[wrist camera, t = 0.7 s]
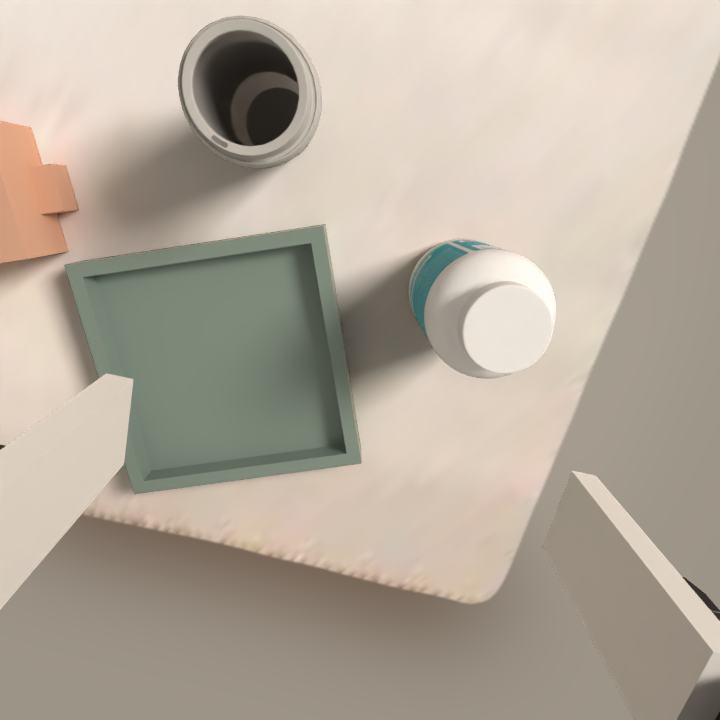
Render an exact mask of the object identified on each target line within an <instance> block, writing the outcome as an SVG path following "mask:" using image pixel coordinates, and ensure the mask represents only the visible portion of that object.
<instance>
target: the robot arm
mask: <svg viewBox="0 0 720 720" xmlns="http://www.w3.org/2000/svg"><path fill="white" fill-rule="evenodd" d="M132 388H133V379H131V378H126V377H121V376H116V375H112V374H107V373H106V374H105V375H103V376H102V377H100V378H99V379H98V380H96V381H95V382H94V383H92V384H91V385H89V386H88V387H87V388H85V389H84V390H82V391H81V392H80V393H78V394H77V395H76V396H74V397H73V398H71V399H70V400H69V401H67V402H66V403H65V404H63V405H62V406H60V407H59V408H58V409H56V410H55V411H53V412H52V413H51V414H49V415H48V416H47V417H45V418H44V419H42V420H41V421H40V422H38V423H37V424H35V425H34V426H33V427H31V428H30V429H29V430H27V431H26V432H24V433H23V434H22V435H20V436H19V437H18V438H16V439H15V440H13V441H12V442H11V443H9V444H8V445H6V446H4V445H0V609H1V608H2V607H3V606H4V604H5V603H6V602H7V601H8V600H9V599H10V597H11V596H12V595H13V594H14V593H15V592H16V590H17V589H18V588H19V587H20V586H21V585H22V583H23V582H24V581H25V580H26V579H27V577H28V576H29V575H30V574H31V573H32V572H33V570H34V569H35V568H36V567H37V566H38V565H39V563H40V562H41V561H42V560H43V559H44V558H45V556H46V555H47V554H48V553H49V552H50V550H51V549H52V548H53V547H54V546H55V545H56V543H57V542H58V541H59V540H60V539H61V538H62V536H63V535H64V534H65V533H66V532H67V531H68V529H69V528H70V527H71V526H72V524H74V522H75V521H76V520H77V519H78V518H79V516H80V515H81V514H82V513H83V512H84V511H85V509H86V508H87V507H88V506H89V505H90V504H91V502H92V501H93V500H94V499H95V498H96V497H97V495H98V494H99V493H100V492H101V491H102V490H103V488H104V487H105V486H106V485H107V484H108V482H109V481H110V480H111V479H112V478H113V477H114V475H115V474H116V473H117V472H118V471H119V470H120V468H121V467H122V466H123V465H124V460H125V451H126V442H127V433H128V424H129V415H130V406H131V397H132ZM542 547H543V549H544V551H545V553H546V555H547V557H548V559H549V561H550V562H551V564H552V566H553V568H554V570H555V572H556V574H557V576H558V577H559V579H560V581H561V583H562V585H563V587H564V589H565V591H566V592H567V595H568V596H569V598H570V600H571V602H572V604H573V605H574V608H575V610H576V611H577V613H578V615H579V617H580V619H581V621H582V623H583V625H584V627H585V628H586V630H587V632H588V634H589V636H590V638H591V640H592V641H593V644H594V645H595V647H596V649H597V651H598V653H599V655H600V657H601V659H602V661H603V663H604V664H605V666H606V668H607V670H608V672H609V674H610V676H611V678H612V679H613V681H614V683H615V685H616V687H617V689H618V691H619V693H620V695H621V696H622V698H623V700H624V702H625V704H626V706H627V708H628V710H629V711H630V714H631V715H632V717H633V719H634V720H720V610H719V609H718V608H717V607H716V606H715V605H714V603H713V602H712V601H711V600H710V599H709V598H708V597H707V595H706V594H705V593H704V592H702V591H701V590H700V589H698V588H697V587H696V586H695V585H693V584H692V583H691V582H690V581H688V580H687V579H686V578H685V577H682V576H681V575H680V574H679V573H678V572H677V571H676V569H675V568H674V567H673V566H672V565H671V564H670V562H669V561H668V560H667V559H666V558H665V556H664V555H663V554H662V553H661V552H660V551H659V549H658V548H657V547H656V546H655V545H654V544H653V542H652V541H651V540H650V539H649V538H648V537H647V535H646V534H645V533H644V532H643V531H642V529H641V528H640V527H639V526H638V525H637V524H636V522H635V521H634V520H633V519H632V518H631V517H630V515H629V514H628V513H627V512H626V511H625V510H624V509H623V507H622V506H621V505H620V504H619V503H618V501H617V500H616V499H615V498H614V497H613V495H612V494H611V493H610V492H609V491H608V490H607V489H606V487H605V486H604V485H603V484H602V482H601V481H600V480H599V479H598V478H597V477H596V476H595V475H590V474H585V473H580V472H575V471H572V472H571V474H570V477H569V479H568V482H567V484H566V487H565V489H564V492H563V495H562V497H561V500H560V502H559V505H558V507H557V510H556V512H555V515H554V517H553V520H552V523H551V525H550V528H549V530H548V533H547V536H546V538H545V540H544V543H543V546H542Z"/></svg>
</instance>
